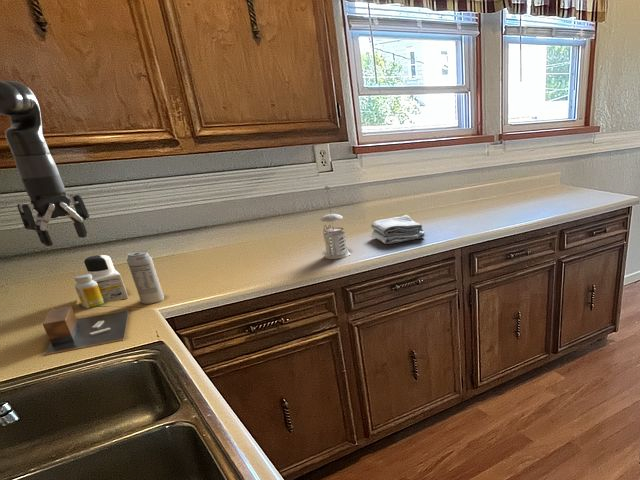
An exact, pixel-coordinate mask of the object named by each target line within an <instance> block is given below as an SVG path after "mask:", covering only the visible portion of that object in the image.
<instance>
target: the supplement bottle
mask: <svg viewBox="0 0 640 480" xmlns="http://www.w3.org/2000/svg"><path fill="white" fill-rule="evenodd" d="M74 281H75V285H74V288H75V292H76V294H77V296H78V298H79V301H80V304H81V306H82V308H84V309H92V308H97V307H101V306H103V305H104V304H105V302H104V300H103V297H102V294H101V292H100V289H99V286H98V284H97V282H96V281H94V280H92V275H91V274H89V273H88V272H87V273H81V274H77V275H75V276H74Z"/></svg>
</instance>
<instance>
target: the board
mask: <svg viewBox="0 0 640 480" xmlns="http://www.w3.org/2000/svg"><path fill="white" fill-rule="evenodd" d="M128 316H129V309H123V310H118V311H117V310H116V311H111V312H106V313H105V312H104V313H101V314H93V315H88V316H82V317H76V319H77V321H78V324H79V328H78V330H77V333H76V336H75V338H74V341H69V342H63V343H58V344H53V345H52V344H51V342H50V341H49V345H48V347H47V349H46V350H45V353H44V354H43V356H44V357H45V356H49V355H55V354H60V353H61V354H62V353H65V352H70V351H77V350H79V349H80V350H81V349H86V348H90V347H91V348H92V347H97V346H102V345H107V344H112V343H117V342H123V341H125V334H126V328H127V322H128V318H129V317H128ZM98 321H104V323H103V324H102V325H101V326H100V327H99V328H94V329H92V327H93V326H94V325H95V324H96V323H97V322H98ZM106 328H110V329H111V330H110V331H107V332H103V333H100V334H96V335H93V336H91V335H90V333H91V332H95V331H99V330H102V329H106Z"/></svg>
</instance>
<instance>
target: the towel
mask: <svg viewBox="0 0 640 480" xmlns="http://www.w3.org/2000/svg"><path fill="white" fill-rule="evenodd" d="M370 228H371V229H372V231H371V235H372V236H373V237H374V238H375V239H377V240H378V241H380V242H382V243H384V244H385V245H393V244H398V243H403V242H408V241H413V240H419V239H424V238H425V231H424V229H423V225H422V224H421V223H419V222H416V221H414V220H413V219H412V218H411V216H409V215H408V214H404V215H400V216H394V217H388V218H382V219H377V220H374V221H373V222H372V223H371V225H370Z"/></svg>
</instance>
